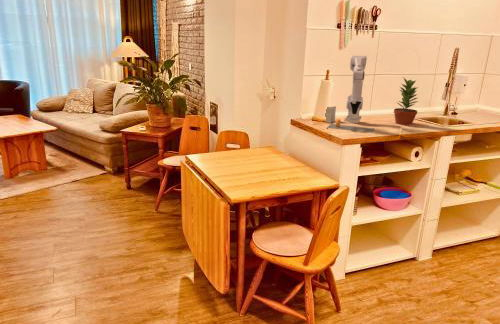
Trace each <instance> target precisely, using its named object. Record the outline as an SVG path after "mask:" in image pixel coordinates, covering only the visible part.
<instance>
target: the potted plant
mask: <svg viewBox="0 0 500 324" xmlns="http://www.w3.org/2000/svg"><path fill="white" fill-rule="evenodd" d="M402 79H403V80H404V83H405V84H402V83H401V85H402V87H401V86H399V88H400V89H399V92H401V93H400V94H401V96H402V98H401V100H402V101H400V100H398V102H397V101H396V103H397V105H398V106H400V107H397V108H394V109H393V113H394V121H395V124H397V125H401V126H402V125H403V126H412V125H413V122H414V120H415V119H416V116H417V114H418V110H417V109H413V108H411V107H412V106H414V105H415V104H416V103H419V102H420V101H415V100H417V99H418V97H416V96H417V95H418V94H419V93H417V94H415V93H416V92H417V90H418V88H419V87H418V86H417V87H416V86H414V84H415V83H416V81H417V79H415V80H414V81H413V80H412V79H409V80H407V79H406V78H405V77H402ZM413 86H414V87H413ZM403 87H404V88H403ZM400 103H401V104H400Z"/></svg>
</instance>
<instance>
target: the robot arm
mask: <svg viewBox="0 0 500 324" xmlns="http://www.w3.org/2000/svg"><path fill="white" fill-rule="evenodd" d="M367 60H368V59H367V55H352V54H351V56H350V63H349V65H350V66H349V69H350V70H351V71H352V87H351V89H352V90H351V94H350V95H348V96H347V98H346V109H347V116H348V115H351V111H352V114H356V113H357V109H358V108H359V112H358V116H360V111H361V110H362V109H363V103H364V100H363V97H362V92H363V86H364V81H365V75H366V73H365V70H366V64H367ZM349 119H352V120H357V119H358V118H349ZM348 123H349V124H358V123H357V122H348Z"/></svg>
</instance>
